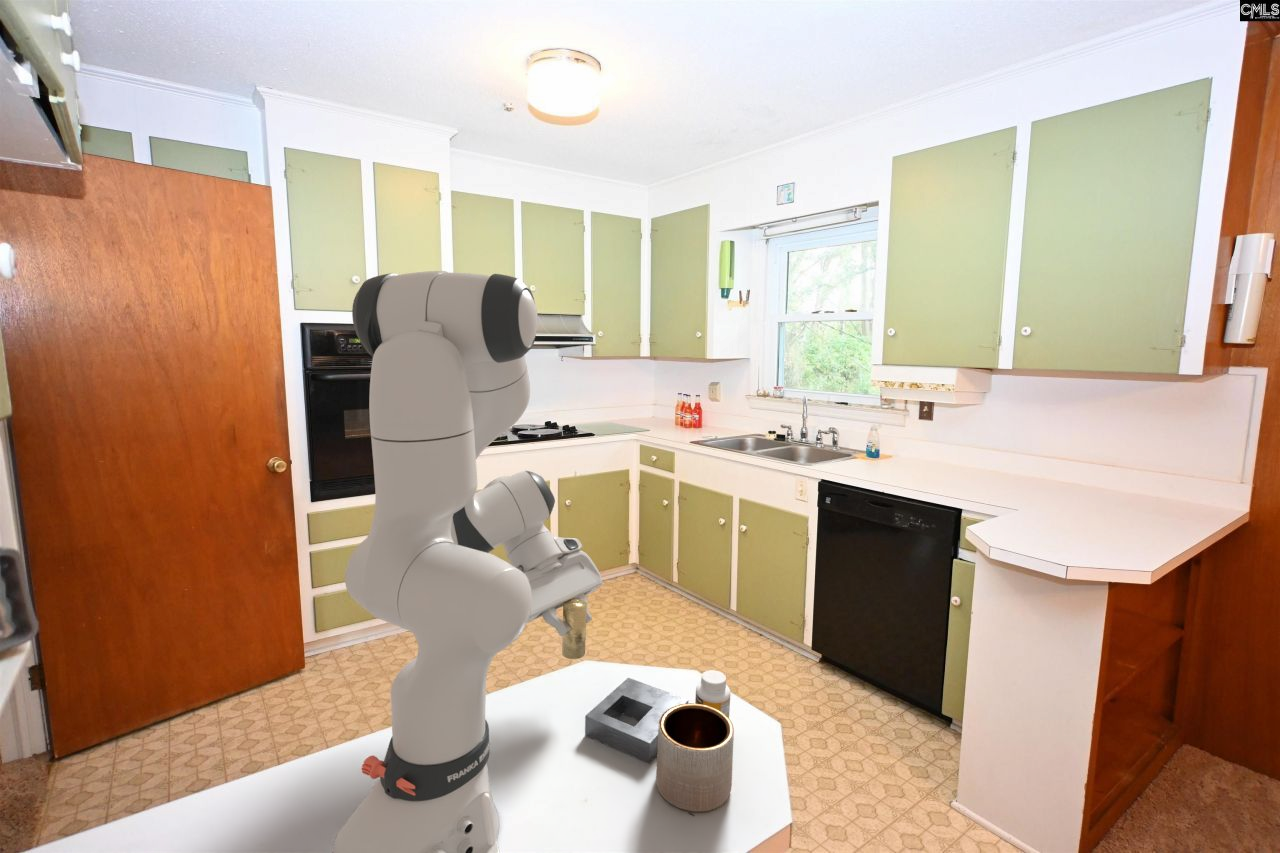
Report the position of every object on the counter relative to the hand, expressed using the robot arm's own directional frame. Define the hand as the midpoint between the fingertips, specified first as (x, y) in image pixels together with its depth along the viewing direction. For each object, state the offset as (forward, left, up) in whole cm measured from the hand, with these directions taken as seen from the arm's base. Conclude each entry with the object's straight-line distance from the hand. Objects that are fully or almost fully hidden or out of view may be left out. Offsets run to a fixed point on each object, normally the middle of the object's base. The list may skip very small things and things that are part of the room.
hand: (577, 627), depth 103 cm
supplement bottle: (+5, -23, -14) cm, 28 cm away
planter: (-6, -26, -14) cm, 30 cm away
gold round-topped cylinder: (0, +1, -5) cm, 5 cm away
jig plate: (0, -12, -14) cm, 19 cm away
